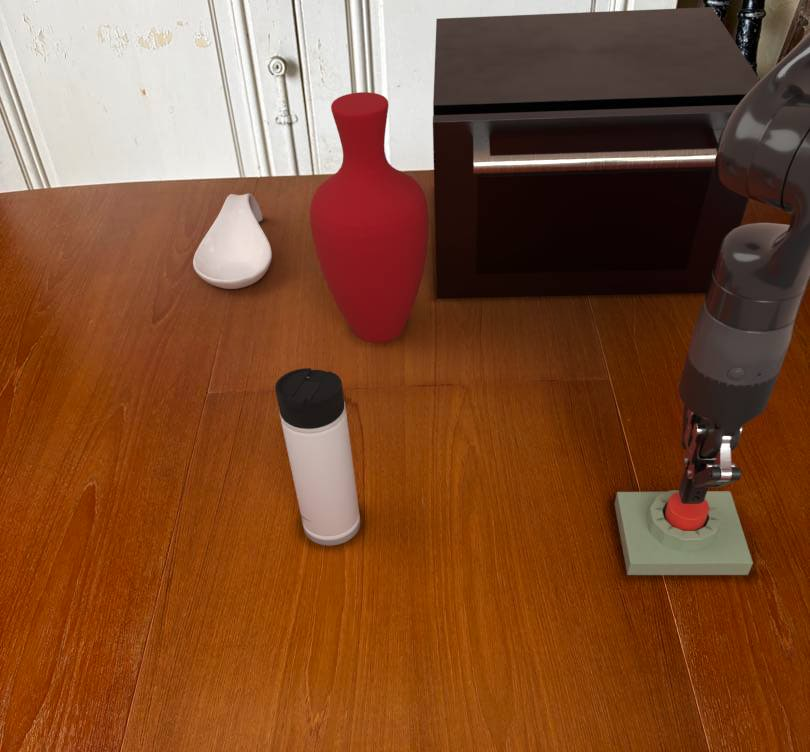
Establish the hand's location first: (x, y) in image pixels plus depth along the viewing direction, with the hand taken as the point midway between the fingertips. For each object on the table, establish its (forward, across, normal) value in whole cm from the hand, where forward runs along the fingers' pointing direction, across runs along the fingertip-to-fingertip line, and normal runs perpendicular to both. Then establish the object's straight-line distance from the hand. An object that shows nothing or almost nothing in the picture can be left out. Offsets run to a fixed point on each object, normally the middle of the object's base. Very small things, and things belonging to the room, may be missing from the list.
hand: (690, 498), depth 81 cm
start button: (+3, 0, 0) cm, 3 cm away
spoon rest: (+7, +59, +57) cm, 82 cm away
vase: (+6, +39, +34) cm, 52 cm away
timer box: (+6, 0, 0) cm, 6 cm away
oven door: (+6, +44, +6) cm, 45 cm away
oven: (+6, +64, +6) cm, 65 cm away
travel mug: (+7, +2, +37) cm, 38 cm away
